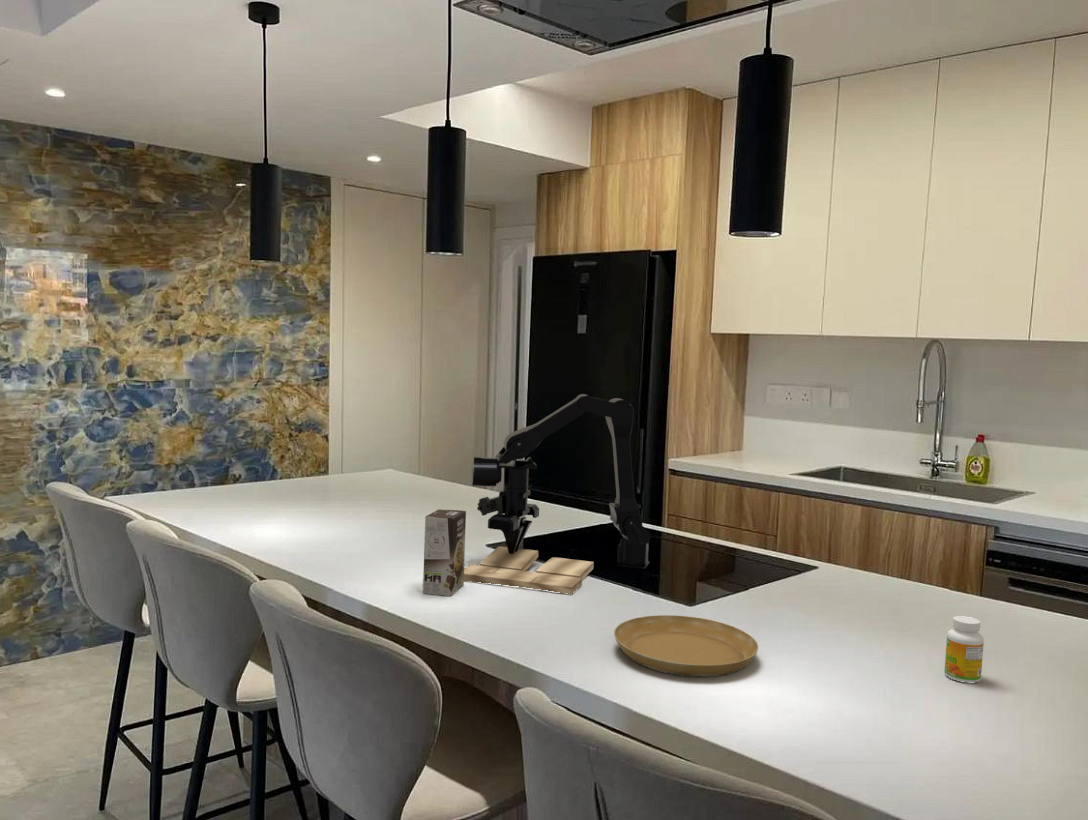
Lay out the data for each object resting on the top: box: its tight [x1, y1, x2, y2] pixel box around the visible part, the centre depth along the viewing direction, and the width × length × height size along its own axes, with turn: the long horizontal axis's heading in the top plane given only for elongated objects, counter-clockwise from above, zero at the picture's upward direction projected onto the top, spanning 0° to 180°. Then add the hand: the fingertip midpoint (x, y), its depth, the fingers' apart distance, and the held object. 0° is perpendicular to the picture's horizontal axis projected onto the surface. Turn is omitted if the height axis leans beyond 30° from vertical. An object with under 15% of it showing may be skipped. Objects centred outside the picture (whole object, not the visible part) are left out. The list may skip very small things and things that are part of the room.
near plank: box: [535, 556, 595, 581], centre depth 196 cm, size 10×12×2 cm
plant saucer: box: [613, 614, 759, 677], centre depth 147 cm, size 24×24×3 cm
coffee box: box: [422, 509, 467, 597], centre depth 180 cm, size 9×6×16 cm
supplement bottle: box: [943, 615, 985, 683], centre depth 141 cm, size 5×5×10 cm
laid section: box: [464, 564, 583, 595], centre depth 187 cm, size 26×8×2 cm, turn 72°
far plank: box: [478, 545, 539, 571], centre depth 200 cm, size 10×12×2 cm
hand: (513, 552), depth 203 cm, fingers open, 2 cm apart
